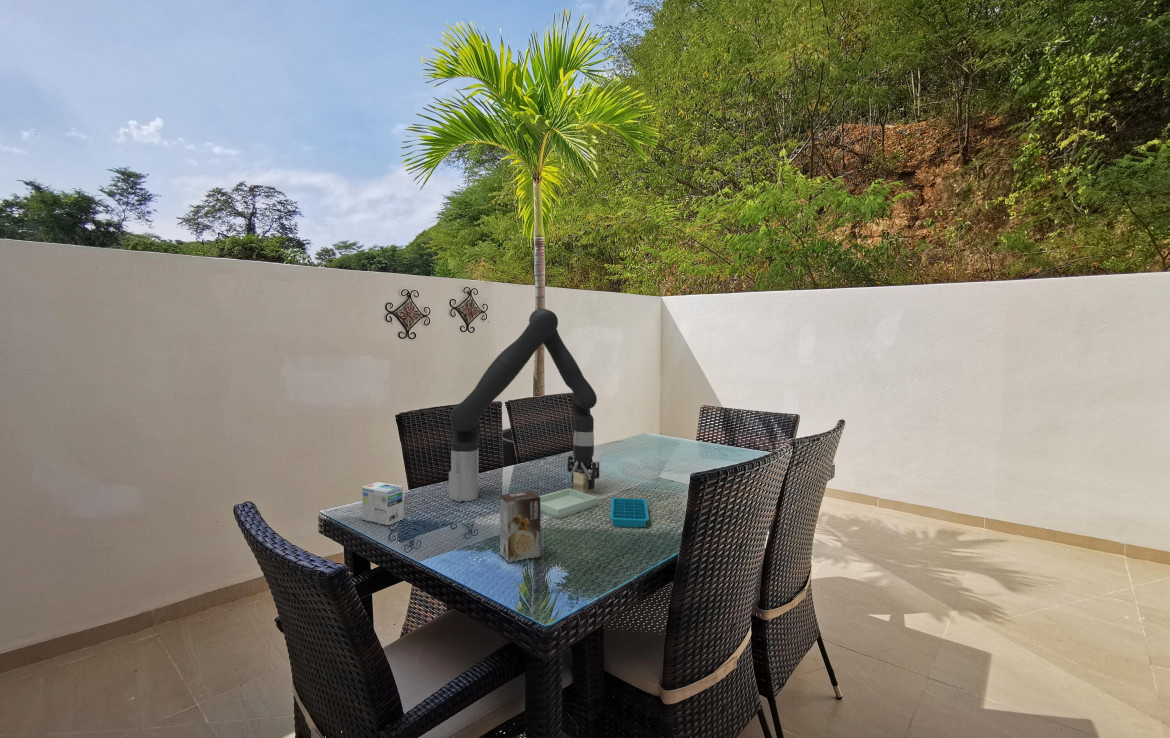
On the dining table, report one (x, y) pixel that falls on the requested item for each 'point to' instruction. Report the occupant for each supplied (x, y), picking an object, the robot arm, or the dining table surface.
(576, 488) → the birch block
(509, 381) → the robot arm
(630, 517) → the ice cube tray
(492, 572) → the dining table surface
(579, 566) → the dining table surface
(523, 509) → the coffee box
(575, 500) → the tray
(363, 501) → the light bulb box
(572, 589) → the dining table surface
